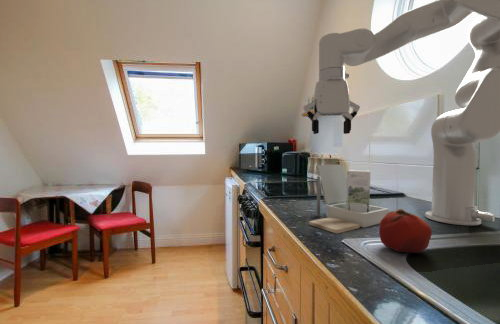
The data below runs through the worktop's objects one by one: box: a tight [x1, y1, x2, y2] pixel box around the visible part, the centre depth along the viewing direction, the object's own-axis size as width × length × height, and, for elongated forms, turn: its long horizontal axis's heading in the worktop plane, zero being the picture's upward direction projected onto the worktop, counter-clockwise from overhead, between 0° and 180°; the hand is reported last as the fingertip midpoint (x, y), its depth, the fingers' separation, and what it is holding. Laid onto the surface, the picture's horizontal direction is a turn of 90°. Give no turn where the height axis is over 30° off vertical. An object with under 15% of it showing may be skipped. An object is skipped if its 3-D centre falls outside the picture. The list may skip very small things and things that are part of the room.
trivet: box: [308, 217, 360, 235], centre depth 66 cm, size 9×9×1 cm
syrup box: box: [345, 168, 371, 213], centre depth 73 cm, size 6×6×14 cm
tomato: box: [378, 208, 433, 254], centre depth 50 cm, size 9×9×8 cm
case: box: [316, 176, 390, 228], centre depth 73 cm, size 15×14×12 cm
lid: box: [315, 164, 347, 205], centre depth 80 cm, size 12×12×1 cm
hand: (331, 133), depth 77 cm, fingers open, 9 cm apart
